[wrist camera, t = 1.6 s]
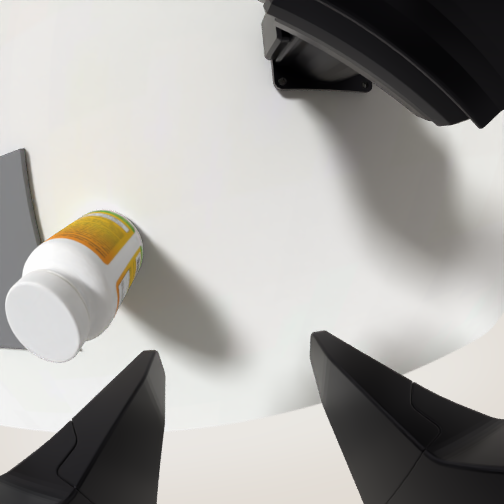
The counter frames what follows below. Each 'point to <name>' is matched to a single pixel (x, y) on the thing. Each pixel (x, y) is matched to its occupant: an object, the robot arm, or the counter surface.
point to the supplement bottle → (74, 285)
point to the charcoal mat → (14, 233)
